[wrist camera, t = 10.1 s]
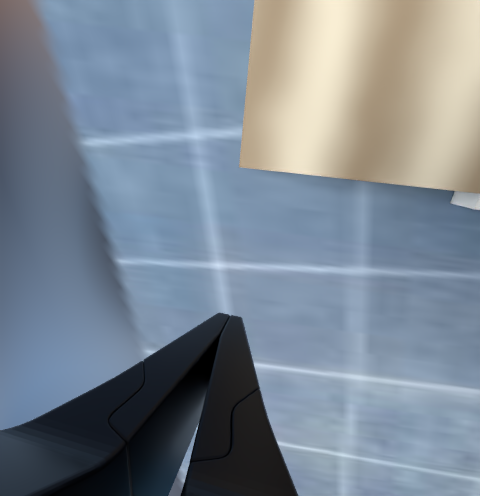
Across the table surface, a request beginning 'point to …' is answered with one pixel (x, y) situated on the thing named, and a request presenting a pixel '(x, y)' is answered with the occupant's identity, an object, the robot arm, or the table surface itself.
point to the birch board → (366, 91)
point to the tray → (466, 199)
